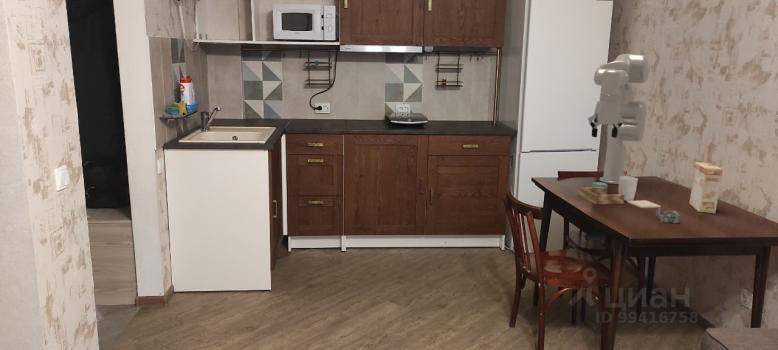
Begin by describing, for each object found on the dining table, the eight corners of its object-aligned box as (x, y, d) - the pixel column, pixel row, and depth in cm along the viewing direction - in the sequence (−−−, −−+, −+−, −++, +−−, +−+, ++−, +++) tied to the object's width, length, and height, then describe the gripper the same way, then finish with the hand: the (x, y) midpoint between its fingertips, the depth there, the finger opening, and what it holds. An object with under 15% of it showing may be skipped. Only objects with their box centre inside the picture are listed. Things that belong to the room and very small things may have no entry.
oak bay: (604, 195, 281) (605, 187, 280) (623, 203, 267) (624, 194, 266) (578, 196, 277) (579, 187, 276) (596, 204, 264) (597, 195, 263)
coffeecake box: (716, 213, 257) (723, 169, 253) (698, 212, 258) (705, 167, 254) (705, 204, 271) (712, 162, 267) (688, 203, 272) (695, 161, 268)
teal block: (598, 192, 287) (599, 182, 286) (606, 194, 283) (607, 184, 282) (591, 192, 285) (592, 182, 284) (599, 195, 281) (600, 185, 280)
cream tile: (646, 201, 272) (646, 200, 272) (660, 207, 263) (660, 206, 263) (626, 202, 270) (627, 200, 270) (641, 208, 260) (641, 206, 260)
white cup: (632, 197, 279) (634, 176, 277) (637, 201, 271) (640, 180, 269) (614, 196, 279) (617, 175, 277) (619, 200, 272) (622, 179, 270)
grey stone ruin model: (654, 215, 250) (656, 206, 249) (674, 217, 249) (675, 208, 248) (659, 222, 240) (661, 212, 239) (680, 224, 238) (681, 214, 238)
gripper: (621, 98, 268) (616, 136, 271) (586, 97, 264) (582, 135, 268) (631, 100, 261) (626, 138, 264) (595, 98, 257) (590, 138, 261)
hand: (604, 137), depth 266 cm, fingers open, 9 cm apart
